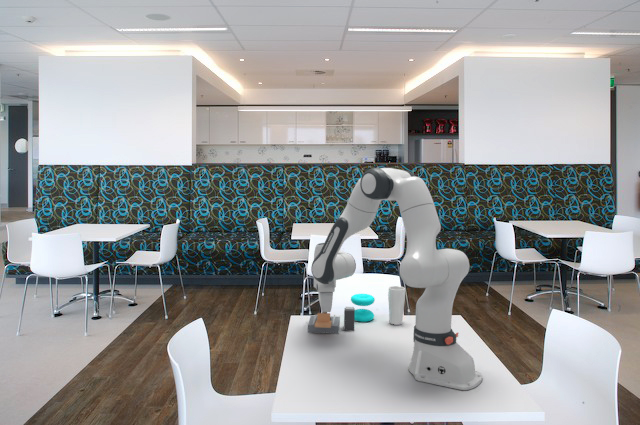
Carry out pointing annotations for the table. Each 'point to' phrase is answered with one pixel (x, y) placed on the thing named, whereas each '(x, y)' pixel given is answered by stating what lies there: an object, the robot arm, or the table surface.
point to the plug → (349, 318)
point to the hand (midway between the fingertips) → (324, 316)
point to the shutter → (323, 320)
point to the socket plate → (333, 328)
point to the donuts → (363, 300)
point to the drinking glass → (396, 304)
